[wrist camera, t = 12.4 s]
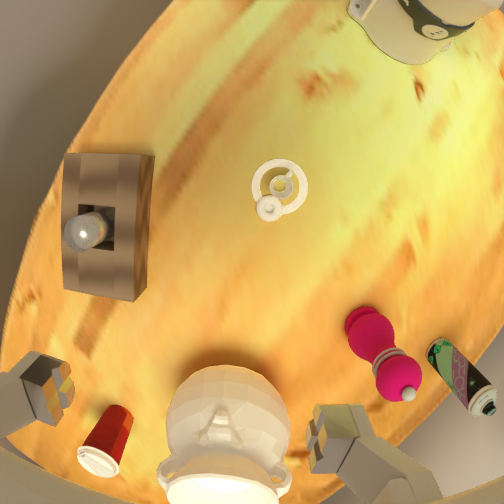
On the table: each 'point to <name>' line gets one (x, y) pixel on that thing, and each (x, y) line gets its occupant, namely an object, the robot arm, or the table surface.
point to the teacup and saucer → (270, 205)
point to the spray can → (462, 377)
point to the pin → (90, 229)
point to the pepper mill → (383, 354)
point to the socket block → (126, 222)
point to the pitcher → (226, 439)
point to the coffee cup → (106, 442)
